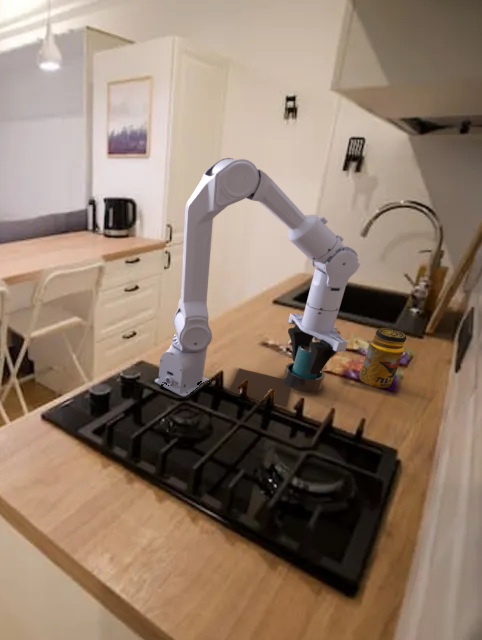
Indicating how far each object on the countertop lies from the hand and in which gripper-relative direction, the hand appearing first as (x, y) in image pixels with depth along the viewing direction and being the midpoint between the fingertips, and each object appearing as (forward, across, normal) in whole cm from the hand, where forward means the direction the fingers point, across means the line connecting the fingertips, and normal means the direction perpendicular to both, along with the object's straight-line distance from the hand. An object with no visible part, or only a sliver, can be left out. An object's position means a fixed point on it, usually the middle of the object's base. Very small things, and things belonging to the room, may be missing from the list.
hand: (306, 367), depth 85 cm
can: (+4, 0, 0) cm, 4 cm away
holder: (+4, 0, 0) cm, 4 cm away
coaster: (+4, 0, +9) cm, 10 cm away
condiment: (+5, -1, -16) cm, 16 cm away
